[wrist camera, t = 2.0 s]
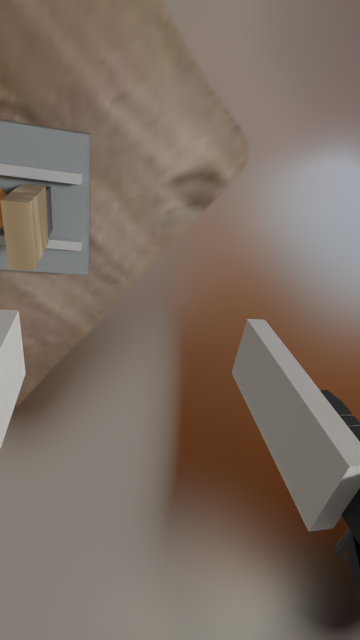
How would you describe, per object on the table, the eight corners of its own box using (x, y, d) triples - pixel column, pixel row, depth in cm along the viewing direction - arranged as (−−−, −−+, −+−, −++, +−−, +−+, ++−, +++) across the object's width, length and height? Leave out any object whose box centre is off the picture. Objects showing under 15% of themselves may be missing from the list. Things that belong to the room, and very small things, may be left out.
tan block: (50, 181, 27) (29, 203, 20) (52, 234, 29) (34, 270, 22) (24, 178, 26) (-7, 199, 19) (28, 232, 29) (1, 268, 22)
